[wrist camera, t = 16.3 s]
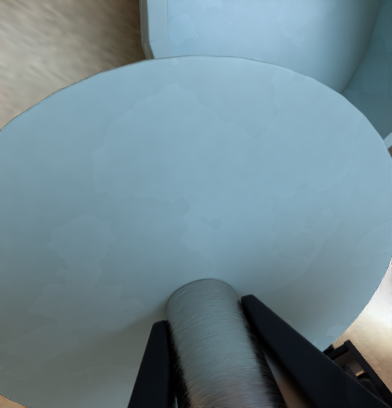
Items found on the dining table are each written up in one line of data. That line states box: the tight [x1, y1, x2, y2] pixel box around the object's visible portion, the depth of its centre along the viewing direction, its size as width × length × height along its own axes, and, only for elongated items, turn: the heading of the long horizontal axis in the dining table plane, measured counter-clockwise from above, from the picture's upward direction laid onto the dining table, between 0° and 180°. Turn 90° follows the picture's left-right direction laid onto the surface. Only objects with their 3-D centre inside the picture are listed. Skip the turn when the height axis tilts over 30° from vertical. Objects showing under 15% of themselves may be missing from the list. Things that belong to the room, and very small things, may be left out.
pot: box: [139, 0, 392, 149], centre depth 13 cm, size 14×15×6 cm
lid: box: [0, 55, 392, 408], centre depth 8 cm, size 15×15×6 cm
